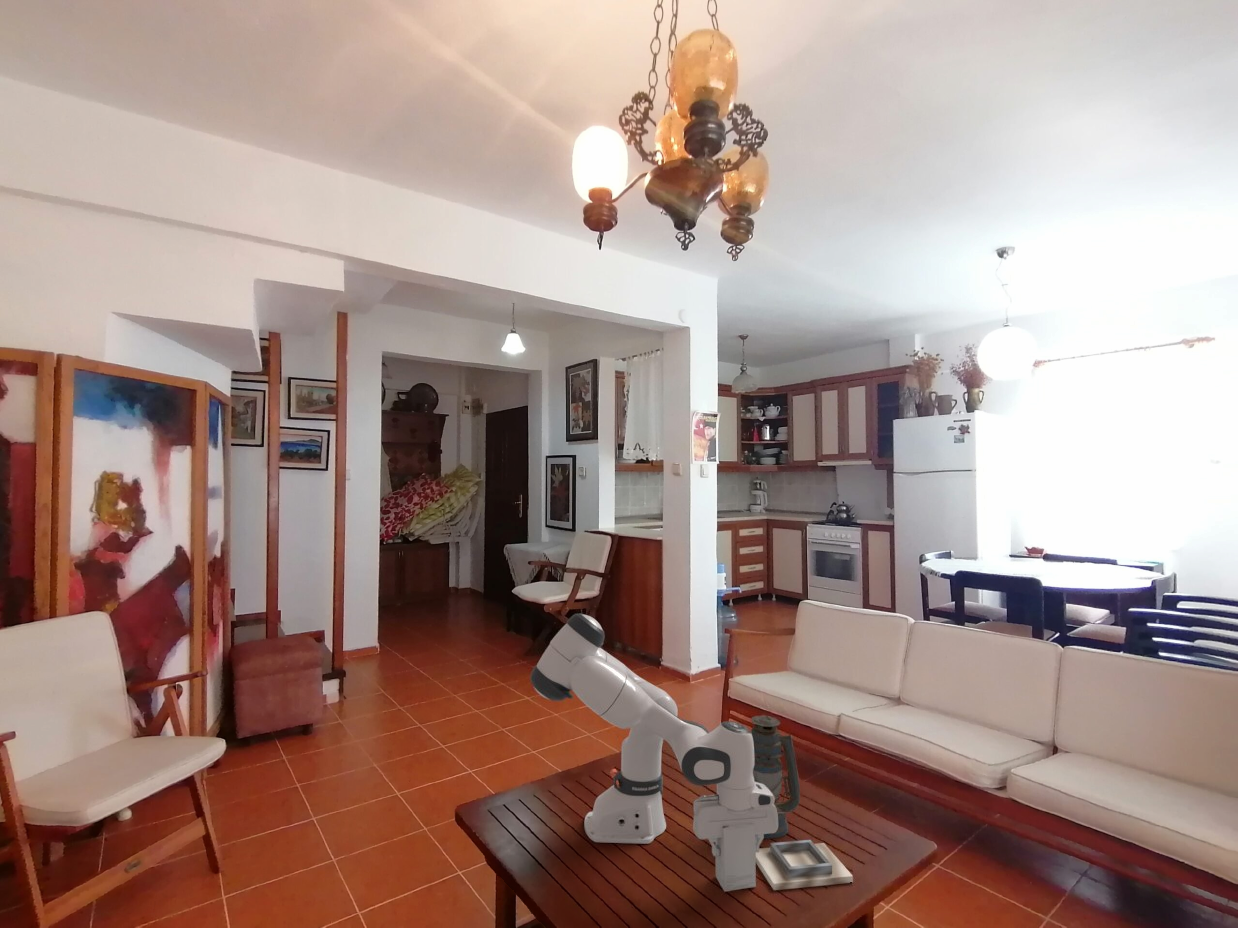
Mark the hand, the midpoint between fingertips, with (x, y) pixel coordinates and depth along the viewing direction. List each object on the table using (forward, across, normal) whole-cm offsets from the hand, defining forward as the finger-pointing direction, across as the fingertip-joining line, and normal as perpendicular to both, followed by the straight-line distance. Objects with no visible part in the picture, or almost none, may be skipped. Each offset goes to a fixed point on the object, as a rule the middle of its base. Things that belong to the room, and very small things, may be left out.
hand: (735, 852), depth 148 cm
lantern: (+7, +17, +22) cm, 29 cm away
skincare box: (+7, 0, 0) cm, 7 cm away
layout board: (+7, +18, +3) cm, 20 cm away
